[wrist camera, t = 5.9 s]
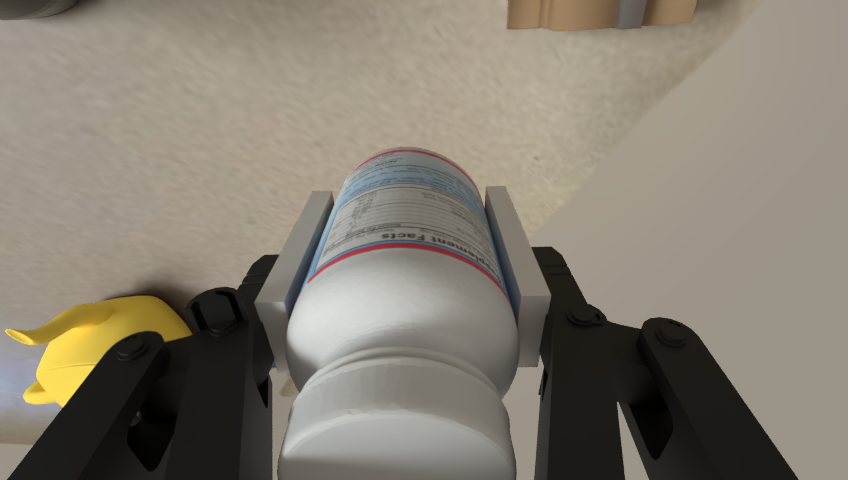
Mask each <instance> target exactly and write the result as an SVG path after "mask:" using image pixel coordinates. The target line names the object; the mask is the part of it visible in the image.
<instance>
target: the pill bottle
mask: <svg viewBox="0 0 848 480" xmlns="http://www.w3.org/2000/svg"><path fill="white" fill-rule="evenodd" d="M285 348H286V360H287V364H288V368H289V372H290V375H291V377H292V380H293V382H294V384H295V386H296V387H297V389H298V391H299V392H300V394H299V395H298V397H297V398H296V399H295V401H294V403H293V405H292V407H291V410H290V414H289V419H288V427H287V430H286V433H285V437H284V440H283V444H282V447H281V451H280V455H279V459H278V470H277V475H278V480H516V474H517V472H516V460H515V455H514V449H513V445H512V441H511V435H510V423H509V416H508V412H507V410H506V408H505V406H504V404H503V402H502V398H503V397H504V395H505V394H506V393H507V391H508V390H509V388H510V385H511V384H512V381H513V379H514V377H515V374H516V371H517V367H518V363H519V355H520V342H519V335H518V329H517V325H516V320H515V317H514V313H513V310H512V306H511V302H510V298H509V295H508V291H507V288H506V285H505V281H504V276H503V273H502V269H501V267H500V264H499V260H498V256H497V253H496V249H495V245H494V242H493V238H492V234H491V230H490V227H489V224H488V220H487V217H486V213H485V209H484V206H483V203H482V200H481V196H480V194H479V192H478V189H477V187H476V185H475V183H474V182H473V180H472V179H471V177H470V176H469V175H468V174H467V173H466V171H465V170H463V169H462V168H461V167H460V166H459V165H458V164H456V163H455V162H453V161H452V160H450V159H448V158H447V157H445V156H443V155H440V154H438V153H435V152H432V151H430V150H426V149H422V148H416V147H396V148H391V149H386V150H383V151H380V152H378V153H376V154H374V155H372V156H370V157H368V158H367V159H365V160H364V161H362V162H361V163H360V164H359V165H358V166H357V167H356V168H355V169H354V170H353V171H352V172H351V173H350V174H349V175H348V177H347V178H346V180H345V182H344V184H343V186H342V188H341V190H340V192H339V195H338V197H337V199H336V202H335V204H334V207H333V209H332V212H331V214H330V217H329V219H328V222H327V224H326V227H325V229H324V232H323V234H322V237H321V240H320V242H319V245H318V247H317V250H316V252H315V255H314V257H313V260H312V263H311V265H310V268H309V270H308V273H307V275H306V278H305V280H304V283H303V285H302V288H301V291H300V293H299V296H298V298H297V301H296V303H295V306H294V309H293V312H292V315H291V318H290V320H289V324H288V329H287V334H286V342H285Z"/></svg>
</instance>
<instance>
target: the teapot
mask: <svg viewBox="0 0 848 480" xmlns="http://www.w3.org/2000/svg"><path fill="white" fill-rule="evenodd" d="M143 331H156V332H158V333H159V334H161V335H162V337H163V339H164V340H165V342H167V341H171V340H175V339H179V338H183V337H187V336H190V335H193V334H192V333H191V331H190V329H189V328H188V326H187V325H186V324H185V322H184V321H183V320H182V319H181V318H180V317H179V316H178V315H177V313H176V312H175V311H174V310H173V309H172V308H171V307H169V306H168V305H167V304H166V303H165V302H163V301H162V300H161V299H159V298H157V297H153V296H131V297H122V298H115V299H110V300H105V301H101V302H97V303H94V304H93V303H89V304H82V305H78V306H74V307H72V308H70V309H68V310H66V311H64V312H62V313H61V314H59V315H58V316H56V317H55V318H54V319H52V320H51V321H50V322H48V323H47V324H46V325H44V326H42V327H40V328H38V329H35V330H30V331H23V330H15V329H7V330H6V333H7V334H8V335H9V336H11V337H12V338H14V339H16V340H18V341H20V342H22V343H25V344H28V345H41V344H45V343H48V342H50V343H49V345H48V347H47V349H46V351H45V353H44V355H43V357H42V359H41V362H40V364H39V366H38V369H37V372H36V376H37V379H38V381H36V382H35V383H34V384H32V385H31V386H30V387H29V388H28V389H27V390H26V391H25V393H24V396H23V398H24V399H25V401H26V402H28V403H31V404H48V403H54V402H57V403H58V404H59V405H61V406H62V407H64V406H65V404H66V403H67V402H68V400H69V399H70V398H71V397H72V395H73V394H74V393H75V391H76V390H77V389H78V388H79V386H80V385H81V384H82V382H83V381H84V380H85V379H86V377H87V376H88V375H89V373H90V372H91V371H92V370H93V368H94V367H95V366H96V364H97V363H98V362H99V360H100V359H101V358H102V357H103V355H104V354H105V353H106V352H107V351H108V350H109V349H110V348H111V347H112V346H113V345H114V344H115V343H117V342H118V341H120V340H121V339H123V338H124V337H127V336H129V335H132V334H134V333H138V332H143Z"/></svg>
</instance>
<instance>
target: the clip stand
mask: <svg viewBox="0 0 848 480" xmlns="http://www.w3.org/2000/svg"><path fill="white" fill-rule="evenodd" d="M696 3H697V0H508V16H507V29H520V28H536V27H543V28H546V29H549V30H552V31H570V30H586V29H602V28H616V29H634V28H641V26H649V25H665V24H680V23H691V22H692V18H693V14H694V11H695V7H696Z"/></svg>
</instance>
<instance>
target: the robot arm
mask: <svg viewBox="0 0 848 480" xmlns="http://www.w3.org/2000/svg"><path fill="white" fill-rule="evenodd" d="M77 1H78V0H0V20H20V19H32V18H41V17H47V16H51V15H54V14H57V13H60V12H62V11H64V10H66V9H68V8H69V7H71V6H72V5H74V4H75V3H76V2H77ZM333 207H334V199H333V194H332V191H313V192H312V194H311V196H310V198H309V200H308V202H307V204H306V205H305V207H304V209H303V211H302V213H301V215H300V217H299V219H298V221H297V223H296V224H295V226H294V228H293V230H292V232H291V234H290V236H289V238H288V240H287V241H286V243H285V245H284V247H283V249H282V251H281V253H280V255H264V256H262V257H261V258H260V259H259V260H257V261H256V262H255V263H253V265H252V266H251V268H250V269H249V271H248V273H247V276H245V278H244V279H243V281H242V285H240V286H239V288H238V289H237V290H236V289H234V288H229V287H220V288H214V289H211V290H208V291H205V292H203V293H201V294H199V295H197V296H196V297H195V298H193V299H192V300H191V301H190V302H189V303H188V305H187V307H186V308H185V311H186V313H187V315H188V317H189V319H190V322H191V324H192V326H193V328H194V330H195V332H196V334H194V335H190V336H187V337H183V338H179V339H175V340H171V341H167V342H165V340H164V339H163V337H162V335H161V334H159V333H158V332H156V331H143V332H138V333H134V334H132V335H129V336H127V337H124V338H123V339H121V340H120V341H118V342H117V343H115V344H114V345H113V346H112V347H111V348H110V349H109V350H108V351H107V352H106V353H105V354H104V355H103V357H102V358H101V359H100V360H99V362H98V363H97V364H96V366H95V367H94V368H93V370H92V371H91V372H90V373H89V375H88V376H87V377H86V379H85V380H84V381H83V382H82V384H81V385H80V386H79V388H78V389H77V390H76V391H75V393H74V394H73V395H72V397H71V398H70V399H69V400H68V402H67V403H66V404H65V406H64V407H63V408H62V410H61V411H60V412H59V413H58V415H57V416H56V417H55V419H54V420H53V421H52V422H51V424H50V425H49V426H48V428H47V429H46V430H45V431H44V433H43V434H42V435H41V437H40V438H39V439H38V440H37V442H36V443H35V444H34V446H33V447H32V448H31V450H30V451H29V452H28V453H27V455H26V456H25V457H24V459H23V460H22V461H21V463H20V464H19V465H18V466H17V468H16V469H15V470H14V472H13V473H12V474H11V475H10V477H9V478H8V479H7V480H272V381H271V378H270V375H269V371H270V369H271V366H272V364H273V361H274V362H275V365H276V368H277V371H278V373H288V372H289V368H288V364H287V360H286V348H285V342H286V334H287V329H288V324H289V320H290V318H291V315H292V312H293V309H294V306H295V303H296V301H297V298H298V296H299V293H300V291H301V288H302V285H303V283H304V280H305V278H306V275H307V273H308V270H309V268H310V265H311V263H312V260H313V257H314V255H315V252H316V250H317V247H318V245H319V242H320V240H321V237H322V234H323V232H324V229H325V227H326V224H327V222H328V219H329V217H330V214H331V212H332V209H333ZM485 213H486V217H487V220H488V224H489V227H490V230H491V234H492V238H493V242H494V245H495V249H496V253H497V256H498V260H499V264H500V267H501V269H502V273H503V276H504V281H505V285H506V288H507V291H508V295H509V298H510V302H511V306H512V310H513V313H514V317H515V320H516V325H517V329H518V335H519V342H520V355H519V363H518V367H537V366H538V362H539V357H540V355H541V358H542V362H543V365H544V370H543V375H542V379H541V384H540V389H539V395H541V397H540V411H539V424H538V437H537V451H536V463H535V464H536V465H535V476H534V480H625V475H624V465H623V457H622V447H621V437H620V428H619V419H618V410H617V402H619V404H620V407H621V409H622V411H623V414H624V417H625V419H626V422H627V424H628V427H629V430H630V432H631V435H632V437H633V440H634V442H635V445H636V447H637V450H638V452H639V455H640V457H641V460H642V462H643V465H644V468H645V470H646V472H647V475H648V478H649V480H798V478H797V477H796V476H795V474H794V472H793V471H792V469H791V468H790V467H789V465H788V464H787V462H786V461H785V459H784V458H783V457H782V455H781V454H780V452H779V451H778V450H777V448H776V446H775V445H774V444H773V442H772V441H771V439H770V438H769V436H768V435H767V434H766V432H765V431H764V429H763V428H762V426H761V425H760V424H759V422H758V421H757V419H756V418H755V417H754V415H753V414H752V412H751V411H750V409H749V408H748V407H747V405H746V404H745V403H744V401H743V399H742V398H741V396H740V395H739V393H738V392H737V391H736V389H735V388H734V386H733V385H732V383H731V382H730V381H729V379H728V378H727V376H726V375H725V373H724V372H723V371H722V369H721V368H720V366H719V365H718V363H717V362H716V361H715V359H714V358H713V356H712V355H711V354H710V352H709V351H708V349H707V348H706V346H705V345H704V343H703V342H702V340H701V339H700V338H699V336H698V335H697V334H696V333H695V332H694V331H693V330H692V329H690V328H689V327H687V326H686V325H684V324H682V323H680V322H677V321H675V320H672V319H668V318H661V317H658V318H650V319H648V320H647V321H645V322H644V323H643V326H642V328H641V329H638V328H633V327H628V326H624V325H619V324H616V323H612V322H609V321H607V319H606V316H605V315H604V314H603V313H602V312H601V311H600V310H599V309H597V308H596V307H594V306H592V305H590V304H587V302H586V300H585V298H584V296H583V295H582V292H581V291H580V289H579V287H578V285H577V283H576V281H575V279H574V277H573V275H571V272H570V270H569V268H568V267H567V264H566V262H565V260H564V258H563V256H562V255H561V254H560V253H559V252H557V251H556V250H555V249H554V248H552V247H531V246H530V244H529V241H528V239H527V237H526V234H525V232H524V229H523V227H522V225H521V222H520V220H519V218H518V215H517V213H516V210H515V208H514V206H513V203H512V201H511V199H510V196H509V194H508V192H507V189H506V187H505V186H490V187H486V195H485Z"/></svg>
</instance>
